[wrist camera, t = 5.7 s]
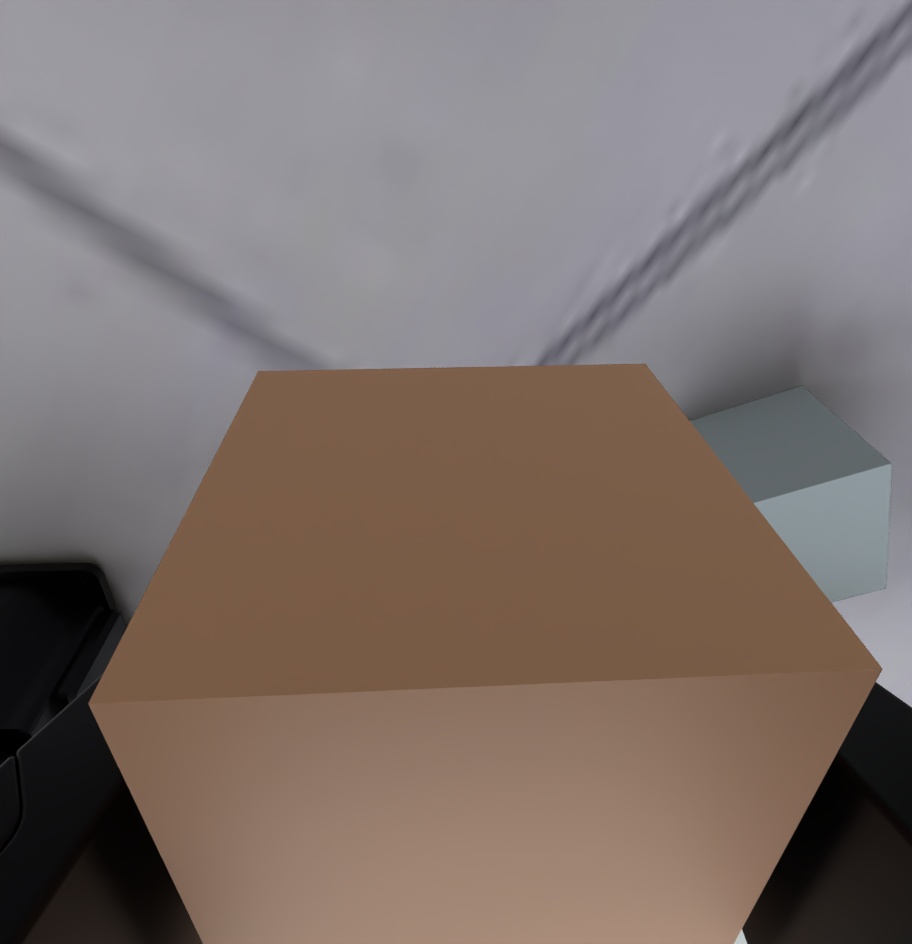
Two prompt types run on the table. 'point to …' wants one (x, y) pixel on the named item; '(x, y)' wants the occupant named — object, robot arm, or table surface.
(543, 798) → the terracotta cube
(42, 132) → the table surface
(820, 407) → the slate cube
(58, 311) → the table surface
